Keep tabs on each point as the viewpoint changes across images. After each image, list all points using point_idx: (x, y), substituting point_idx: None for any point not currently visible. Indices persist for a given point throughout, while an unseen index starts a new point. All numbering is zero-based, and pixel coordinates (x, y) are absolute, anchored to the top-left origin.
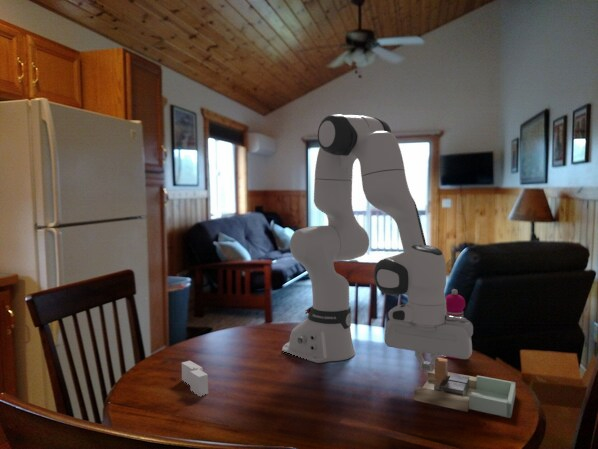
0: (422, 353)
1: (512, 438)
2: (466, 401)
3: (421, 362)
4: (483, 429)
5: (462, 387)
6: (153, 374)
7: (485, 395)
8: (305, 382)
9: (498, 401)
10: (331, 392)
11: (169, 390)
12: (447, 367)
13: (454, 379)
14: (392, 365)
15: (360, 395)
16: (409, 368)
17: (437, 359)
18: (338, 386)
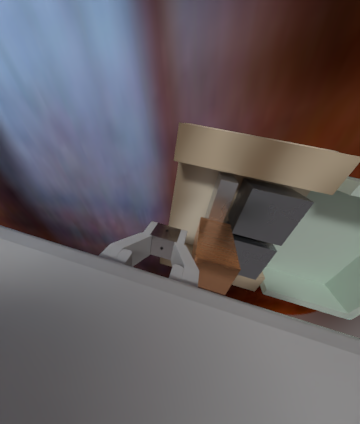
0: (131, 262)
1: (296, 309)
2: (252, 289)
3: (145, 255)
4: (261, 294)
5: (259, 268)
6: None
7: (323, 218)
8: (10, 209)
9: (323, 311)
10: (57, 231)
11: None
12: (234, 244)
13: (249, 229)
14: (54, 23)
15: (90, 233)
16: (110, 27)
17: None
18: (50, 212)
